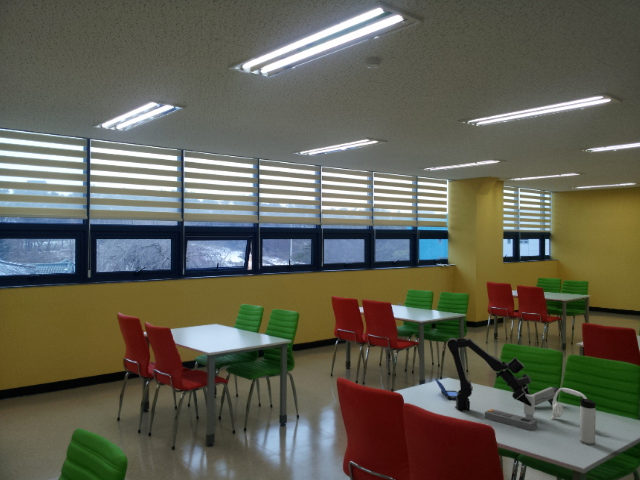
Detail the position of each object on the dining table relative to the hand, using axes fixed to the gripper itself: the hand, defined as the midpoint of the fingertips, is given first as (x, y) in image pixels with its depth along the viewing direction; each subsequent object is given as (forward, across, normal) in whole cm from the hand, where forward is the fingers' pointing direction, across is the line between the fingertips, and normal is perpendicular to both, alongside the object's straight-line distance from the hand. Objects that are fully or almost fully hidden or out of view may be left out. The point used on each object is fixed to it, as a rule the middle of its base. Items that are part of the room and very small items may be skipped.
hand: (532, 403), depth 259 cm
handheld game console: (-28, +17, +40) cm, 51 cm away
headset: (+19, +2, -7) cm, 20 cm away
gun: (+8, +26, +4) cm, 27 cm away
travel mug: (+24, -21, -12) cm, 34 cm away
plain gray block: (+5, 0, +7) cm, 8 cm away
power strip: (-1, -11, +12) cm, 17 cm away
